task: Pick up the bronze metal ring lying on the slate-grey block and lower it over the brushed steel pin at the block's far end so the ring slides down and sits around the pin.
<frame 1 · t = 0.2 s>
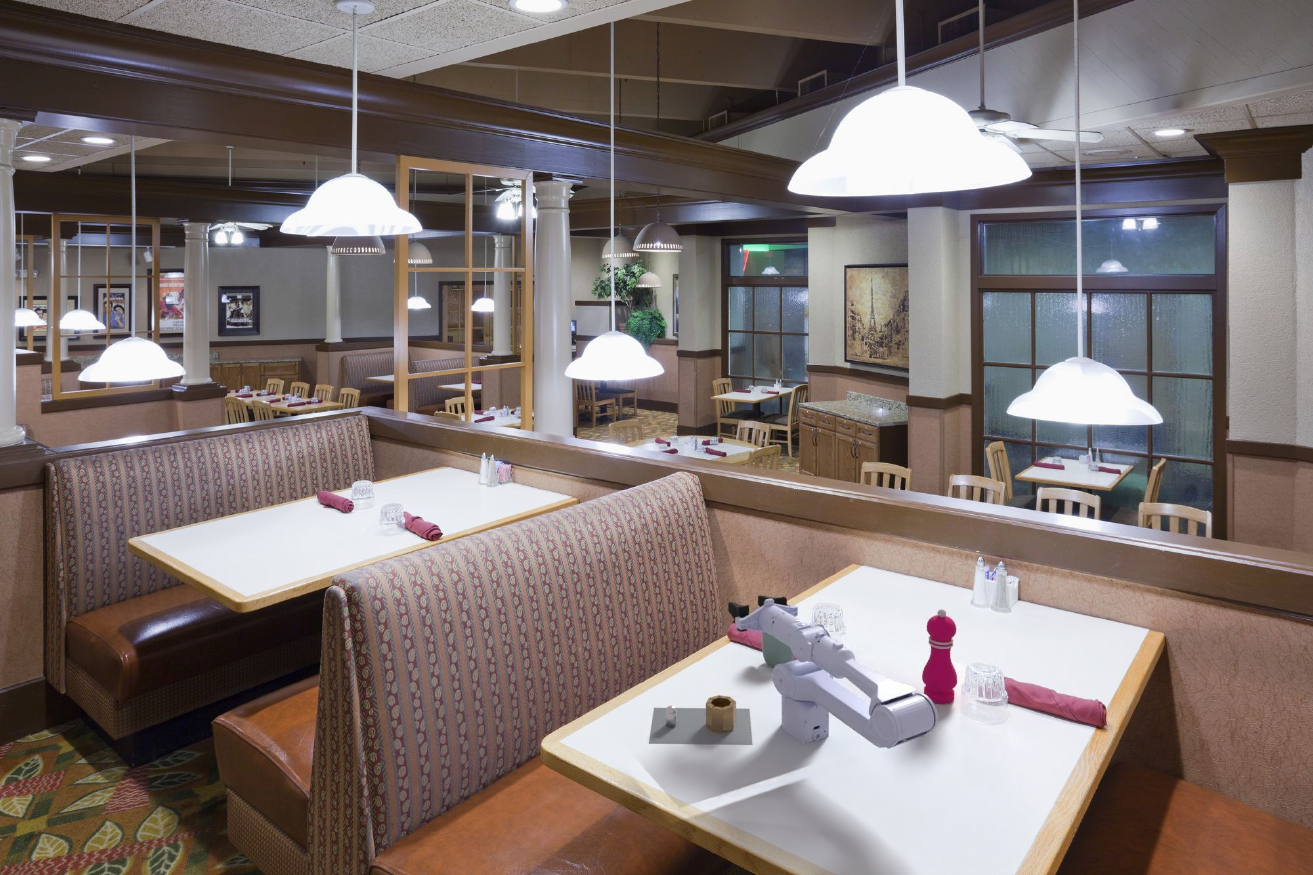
hand: (744, 603, 181), 21 cm above the table, tool horizontal, fingers open, 7 cm apart
bronze ring: (721, 725, 169), point 1 cm above the table, touching slate block
slate block: (701, 732, 169), on the table
steel pin: (671, 724, 170), resting on slate block
pepper mill: (938, 698, 181), on the table
cup: (778, 665, 199), on the table
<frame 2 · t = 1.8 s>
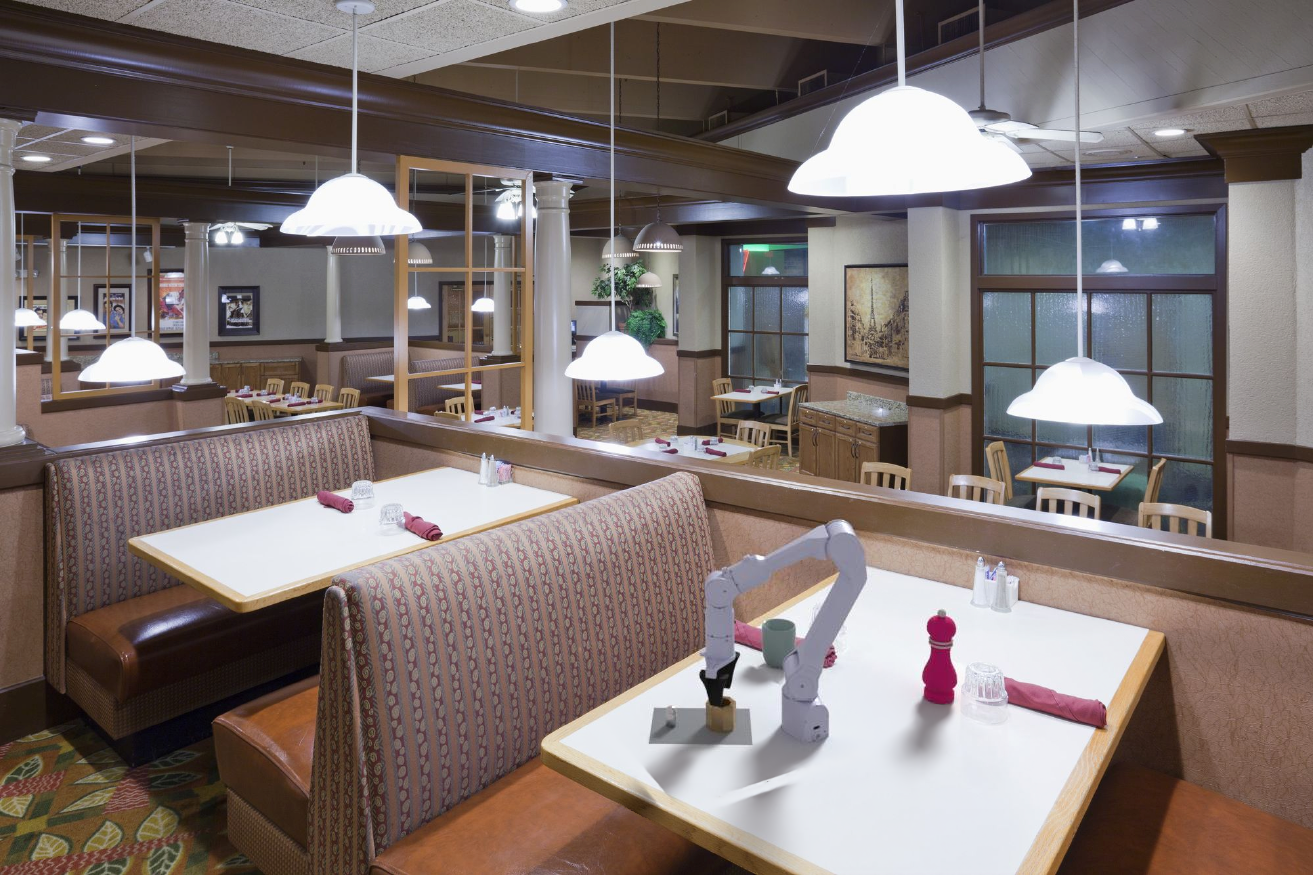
hand: (720, 696, 168), 8 cm above the table, tool pointing down, fingers open, 7 cm apart
nothing on the table moved.
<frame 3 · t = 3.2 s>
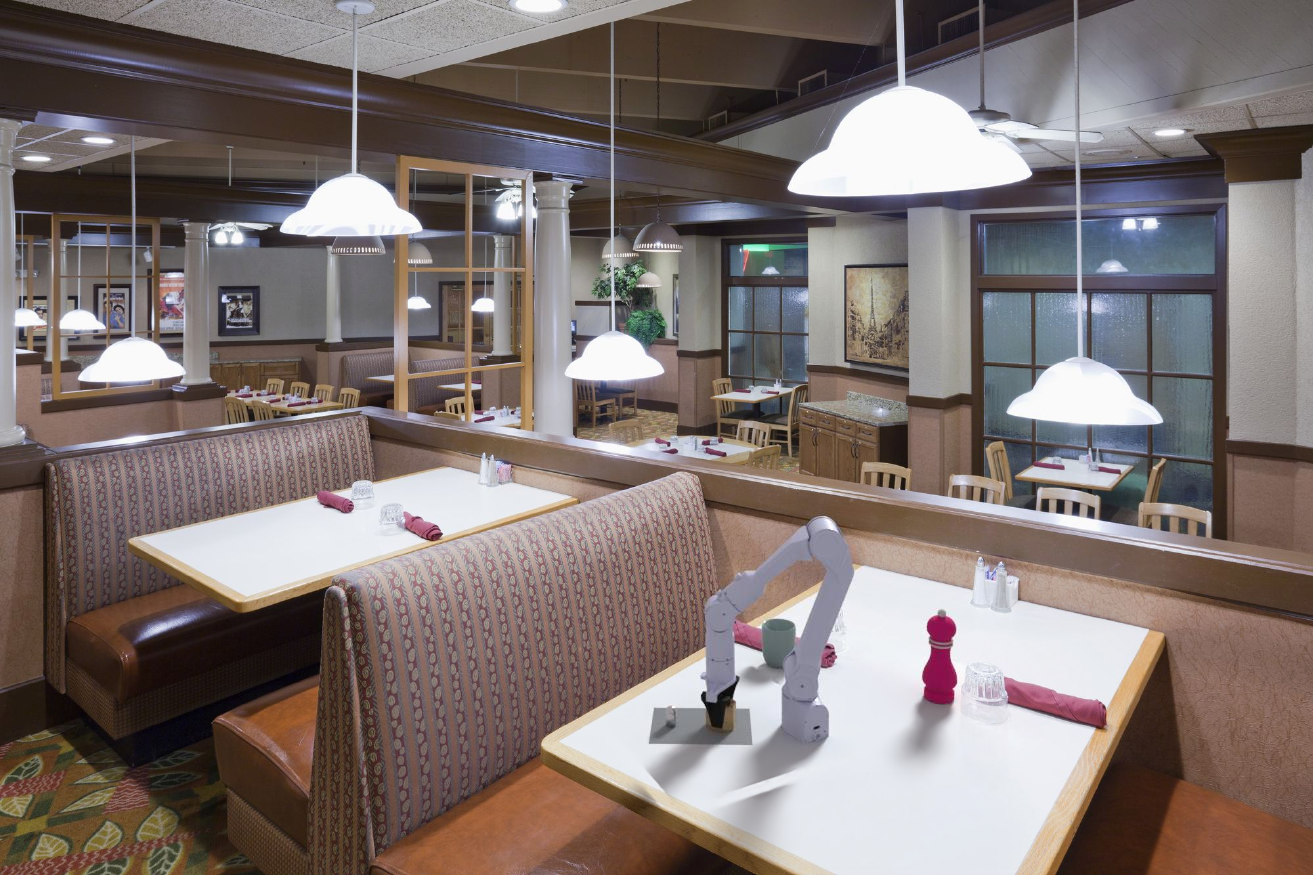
hand: (721, 718, 169), 3 cm above the table, tool pointing down, fingers closed on bronze ring, 6 cm apart
bronze ring: (721, 725, 169), point 1 cm above the table, touching gripper, slate block
everything else where it was.
when the fingers open (5 cm above the table, at t = 6.5 s): bronze ring drops 2 cm, resting on slate block.
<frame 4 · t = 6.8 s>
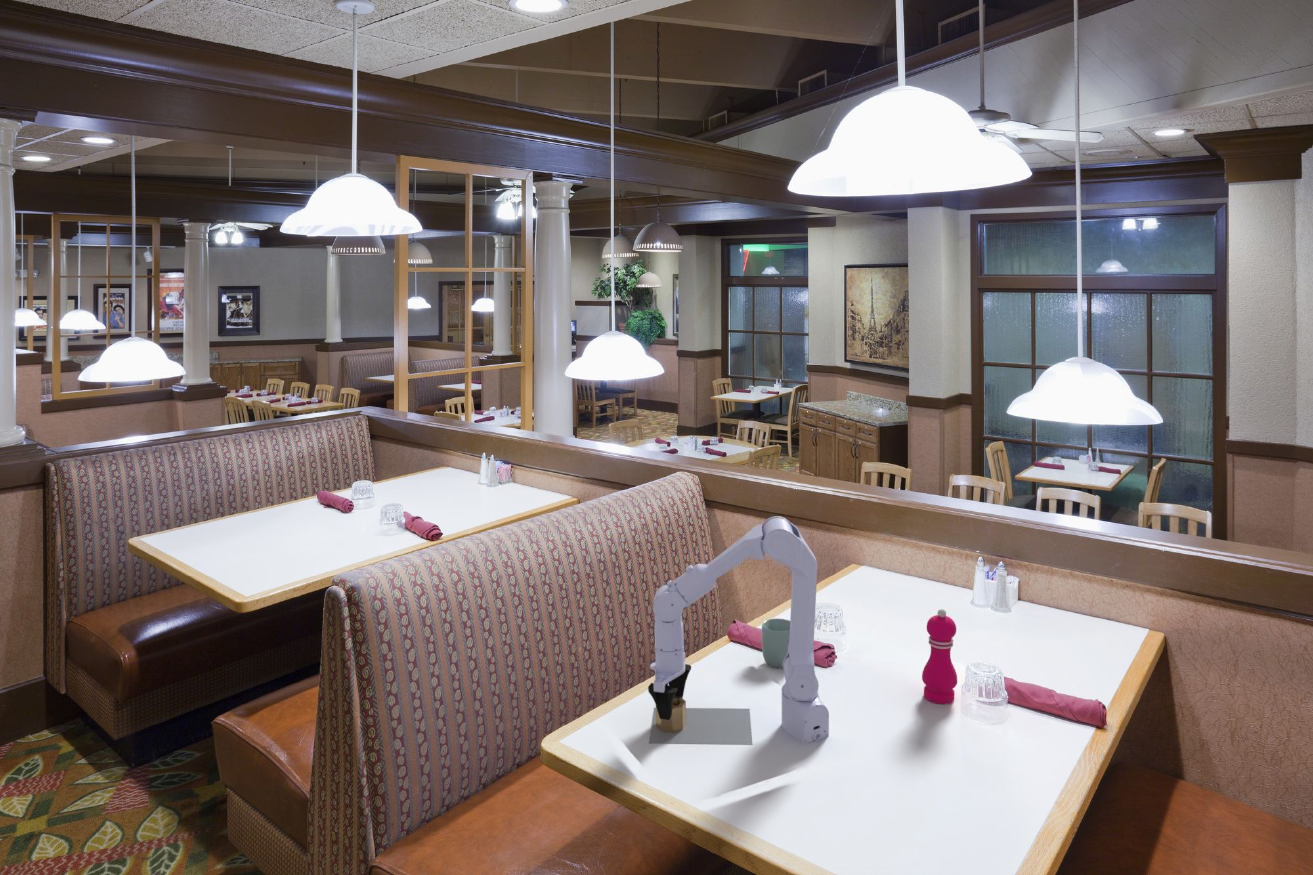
hand: (671, 709, 169), 5 cm above the table, tool pointing down, fingers open, 7 cm apart
bronze ring: (671, 725, 170), point 1 cm above the table, touching slate block
everything else where it was.
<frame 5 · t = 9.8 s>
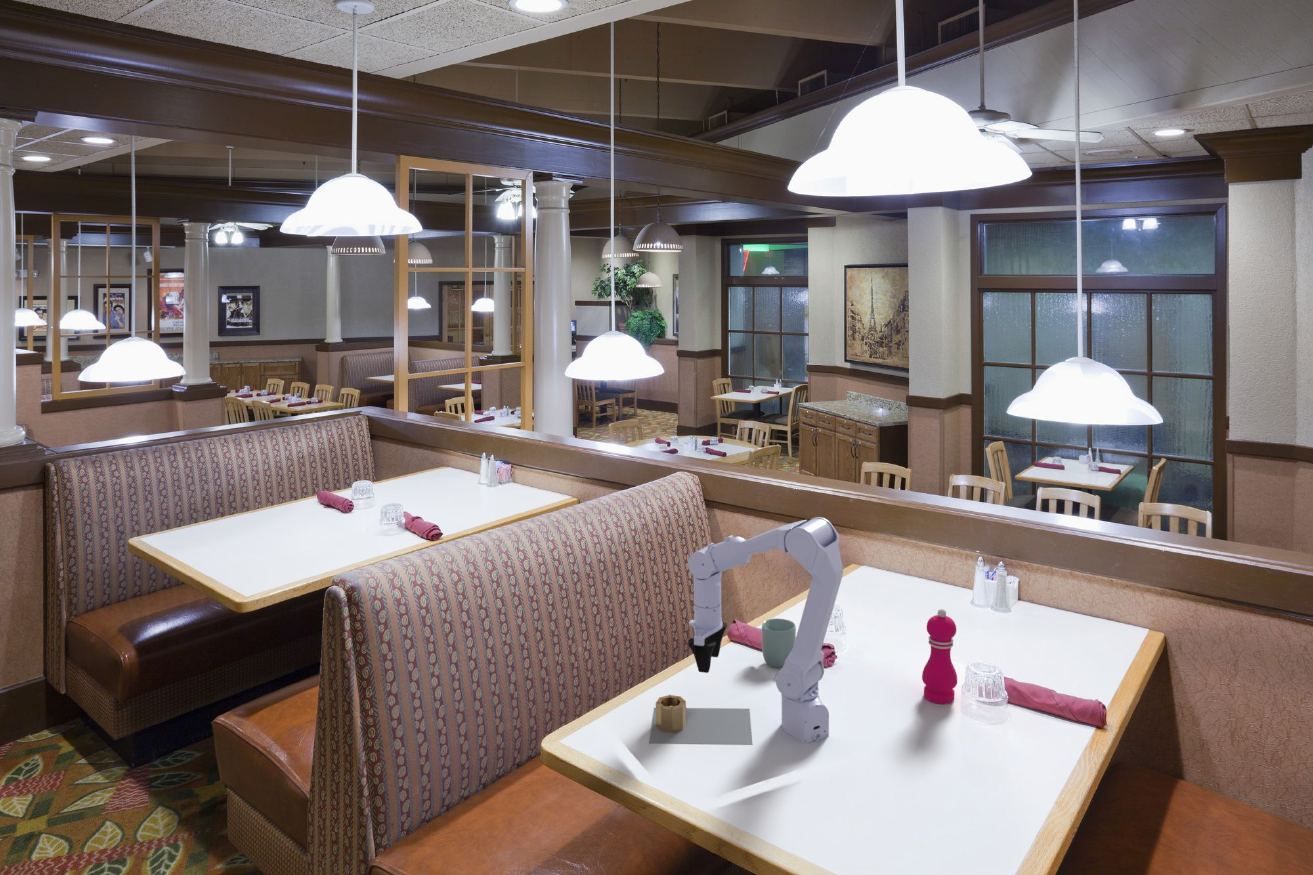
hand: (708, 663, 179), 9 cm above the table, tool pointing down, fingers open, 7 cm apart
nothing on the table moved.
at the end: bronze ring 0.1 cm from the steel pin (horizontally); bronze ring point 1.5 cm above the table; the gripper is holding nothing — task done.
